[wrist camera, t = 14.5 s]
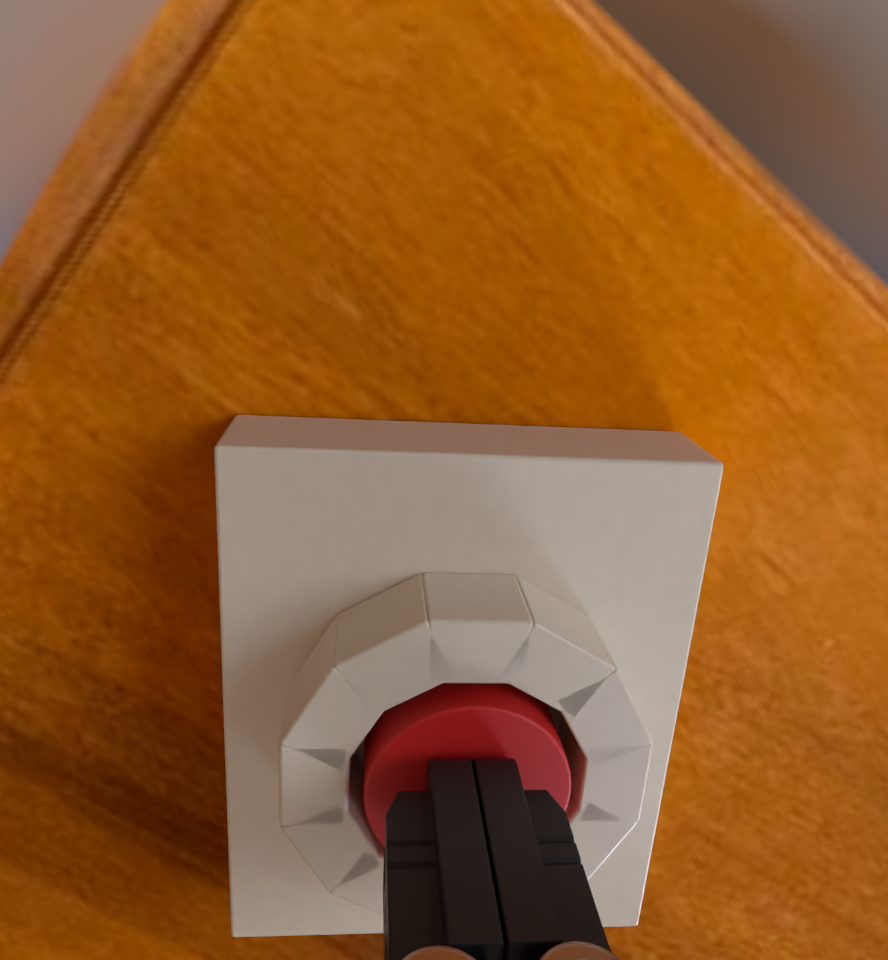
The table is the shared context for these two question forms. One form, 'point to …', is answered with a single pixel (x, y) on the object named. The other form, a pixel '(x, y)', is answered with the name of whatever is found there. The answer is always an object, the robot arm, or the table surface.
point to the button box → (444, 631)
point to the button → (461, 742)
